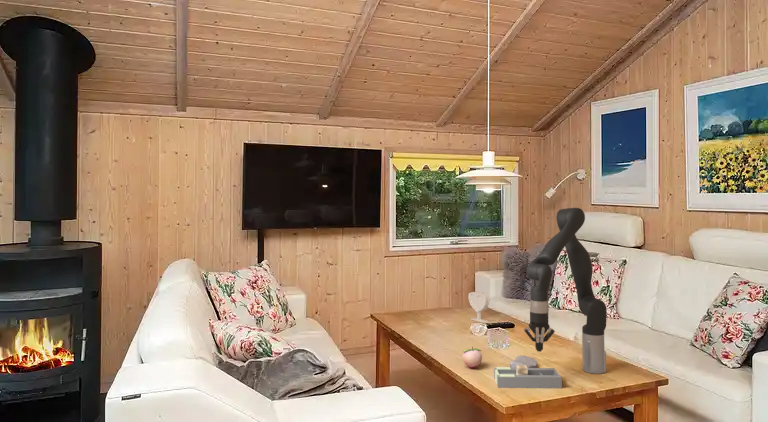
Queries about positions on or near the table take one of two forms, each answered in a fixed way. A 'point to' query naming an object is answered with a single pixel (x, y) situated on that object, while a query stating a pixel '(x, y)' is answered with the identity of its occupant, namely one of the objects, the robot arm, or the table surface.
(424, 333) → the table surface
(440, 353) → the table surface
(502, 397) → the table surface
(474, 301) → the heart sculpture
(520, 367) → the cube
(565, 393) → the table surface
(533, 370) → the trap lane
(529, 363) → the stone block
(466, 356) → the decorative fruit
